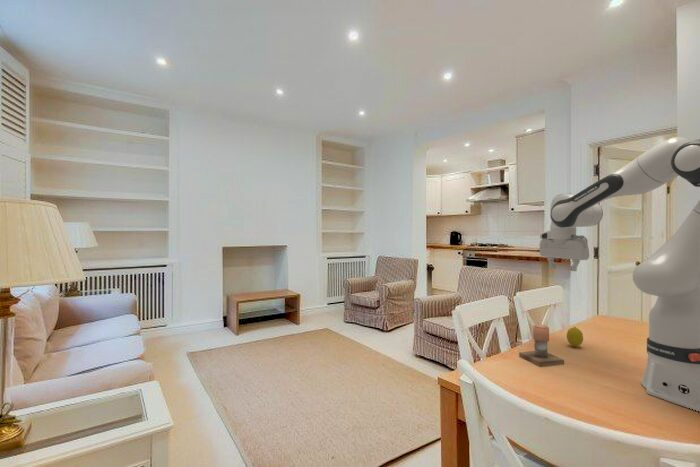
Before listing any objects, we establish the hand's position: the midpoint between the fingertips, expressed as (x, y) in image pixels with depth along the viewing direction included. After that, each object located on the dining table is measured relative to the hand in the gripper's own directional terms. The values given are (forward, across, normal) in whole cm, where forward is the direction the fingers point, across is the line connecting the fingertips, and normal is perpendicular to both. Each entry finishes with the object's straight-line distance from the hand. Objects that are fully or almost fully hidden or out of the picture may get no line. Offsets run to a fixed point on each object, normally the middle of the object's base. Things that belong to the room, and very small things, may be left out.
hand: (562, 269), depth 136 cm
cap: (+24, -9, +19) cm, 32 cm away
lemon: (+31, -1, -5) cm, 32 cm away
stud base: (+31, -9, +19) cm, 38 cm away
